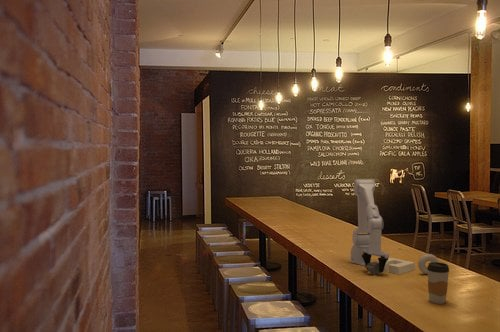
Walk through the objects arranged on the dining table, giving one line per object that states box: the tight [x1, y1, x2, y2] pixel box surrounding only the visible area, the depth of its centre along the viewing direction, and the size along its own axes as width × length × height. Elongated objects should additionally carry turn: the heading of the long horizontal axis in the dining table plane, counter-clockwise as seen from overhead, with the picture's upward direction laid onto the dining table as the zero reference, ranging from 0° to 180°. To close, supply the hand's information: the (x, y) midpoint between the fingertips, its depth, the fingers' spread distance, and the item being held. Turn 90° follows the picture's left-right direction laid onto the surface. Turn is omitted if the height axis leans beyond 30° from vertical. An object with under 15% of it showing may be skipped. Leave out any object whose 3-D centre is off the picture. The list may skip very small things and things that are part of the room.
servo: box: [364, 260, 383, 276], centre depth 249 cm, size 4×11×6 cm, turn 131°
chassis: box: [377, 257, 416, 275], centre depth 257 cm, size 14×14×4 cm
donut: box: [417, 253, 440, 275], centre depth 247 cm, size 10×4×10 cm, turn 91°
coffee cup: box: [427, 261, 450, 305], centre depth 206 cm, size 8×8×15 cm
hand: (374, 270), depth 249 cm, fingers open, 7 cm apart
